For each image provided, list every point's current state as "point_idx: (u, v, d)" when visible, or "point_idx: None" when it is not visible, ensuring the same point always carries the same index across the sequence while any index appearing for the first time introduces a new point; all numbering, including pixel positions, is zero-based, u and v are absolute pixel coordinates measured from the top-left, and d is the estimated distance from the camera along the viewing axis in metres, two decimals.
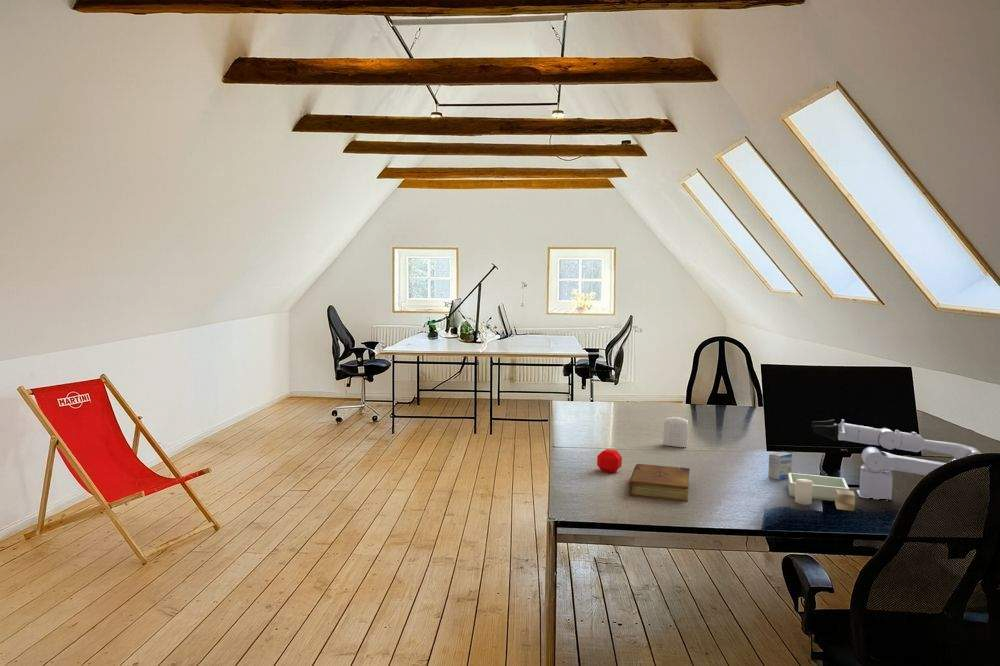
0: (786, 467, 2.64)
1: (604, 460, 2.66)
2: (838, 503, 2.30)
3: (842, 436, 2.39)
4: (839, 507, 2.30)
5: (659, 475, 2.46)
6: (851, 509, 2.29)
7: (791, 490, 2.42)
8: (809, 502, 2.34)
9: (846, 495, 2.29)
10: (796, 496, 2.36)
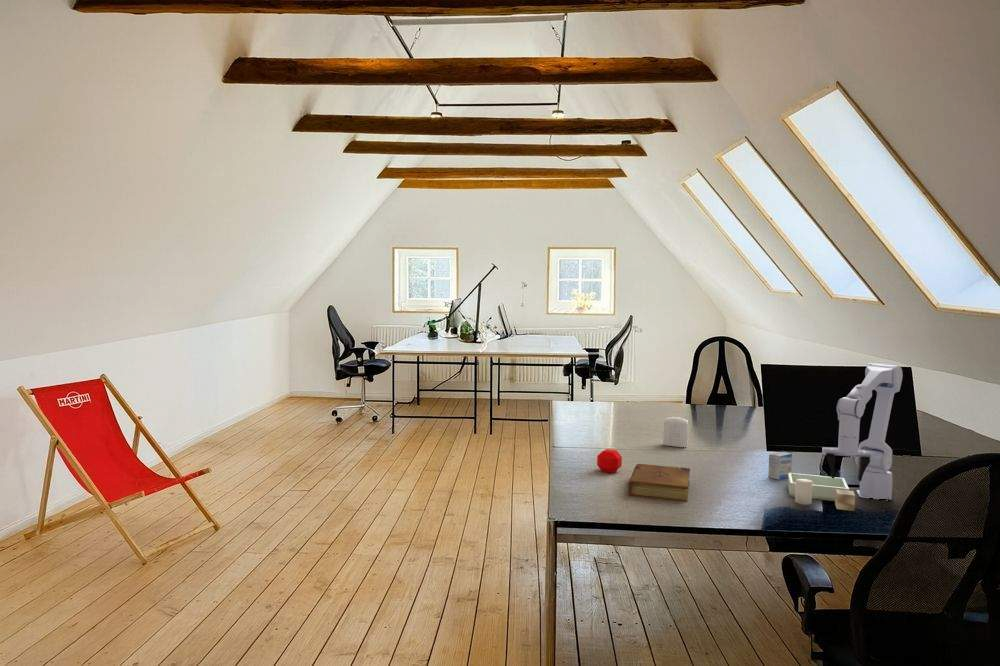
0: (786, 467, 2.64)
1: (604, 460, 2.66)
2: (838, 503, 2.30)
3: None
4: (839, 507, 2.30)
5: (659, 475, 2.46)
6: (851, 509, 2.29)
7: (791, 490, 2.42)
8: (809, 502, 2.34)
9: (846, 495, 2.29)
10: (796, 496, 2.36)
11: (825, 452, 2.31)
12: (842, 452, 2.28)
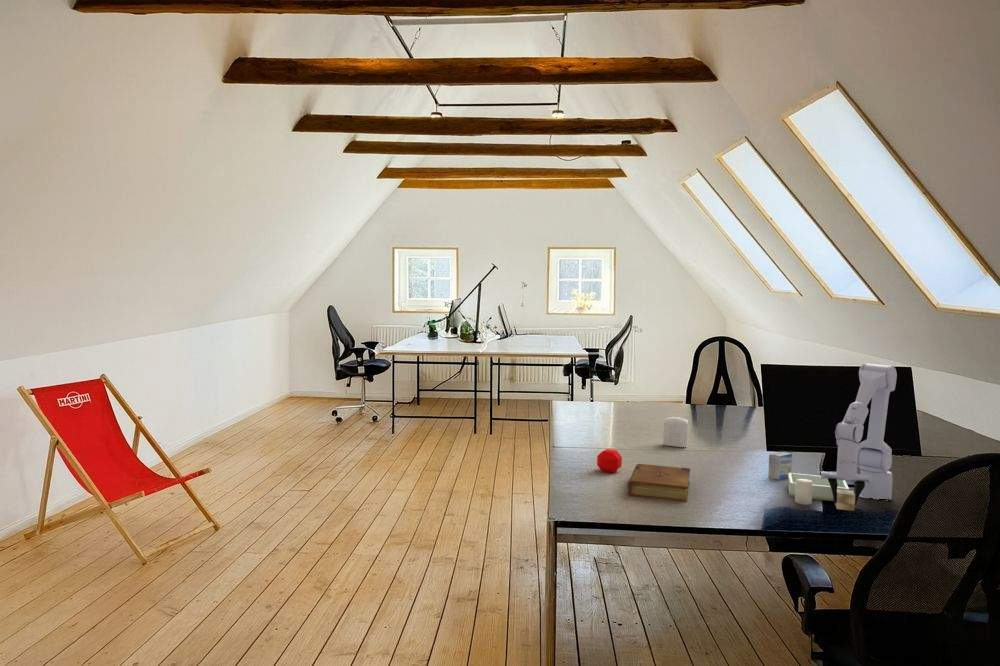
0: (786, 467, 2.64)
1: (604, 460, 2.66)
2: (838, 503, 2.30)
3: (871, 478, 2.29)
4: (839, 507, 2.30)
5: (659, 475, 2.46)
6: (851, 509, 2.29)
7: (791, 490, 2.42)
8: (809, 502, 2.34)
9: (846, 495, 2.29)
10: (796, 496, 2.36)
11: (824, 476, 2.32)
12: (841, 477, 2.29)
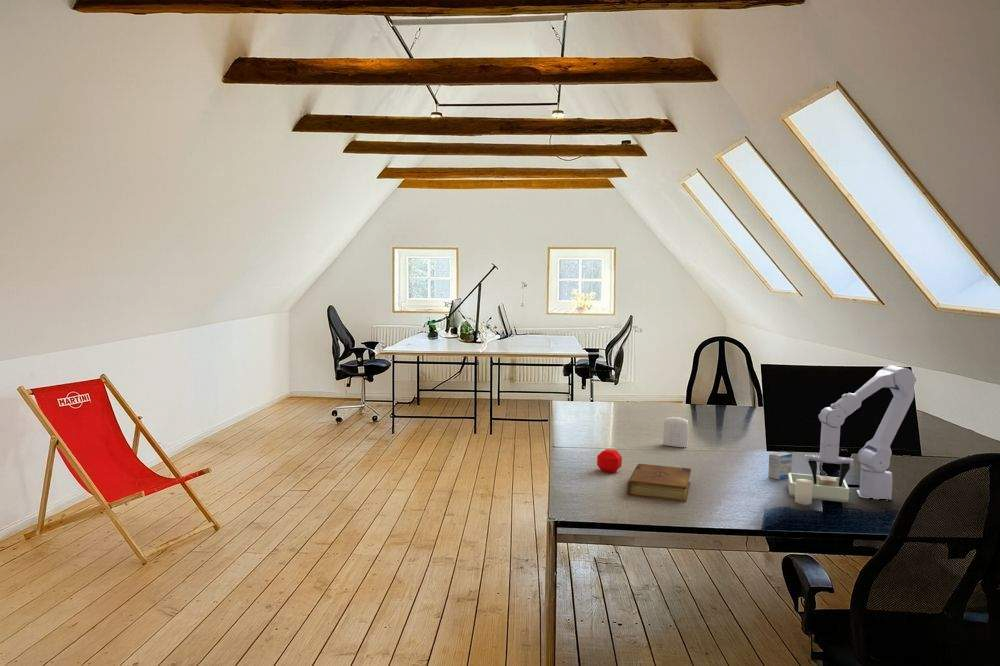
0: (786, 467, 2.64)
1: (604, 460, 2.66)
2: None
3: None
4: None
5: (659, 475, 2.46)
6: None
7: (791, 490, 2.42)
8: (809, 502, 2.34)
9: (828, 481, 2.41)
10: (796, 496, 2.36)
11: (807, 459, 2.44)
12: (823, 459, 2.41)
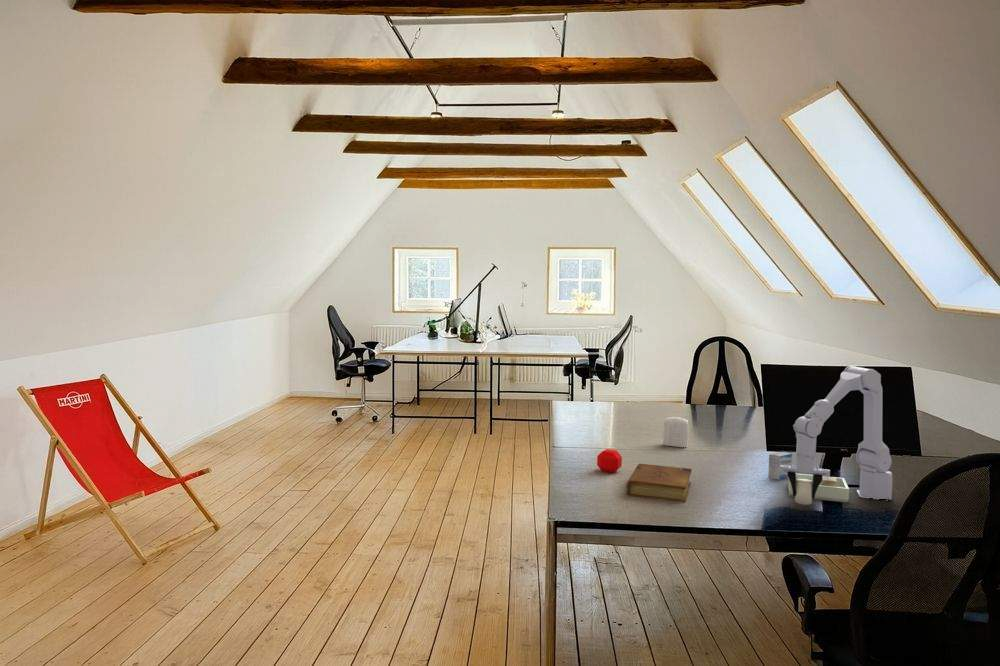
0: None
1: (604, 460, 2.66)
2: None
3: (829, 472, 2.33)
4: None
5: (659, 475, 2.46)
6: None
7: (791, 490, 2.42)
8: (809, 502, 2.34)
9: (828, 481, 2.41)
10: (796, 496, 2.36)
11: (783, 470, 2.37)
12: (799, 470, 2.34)
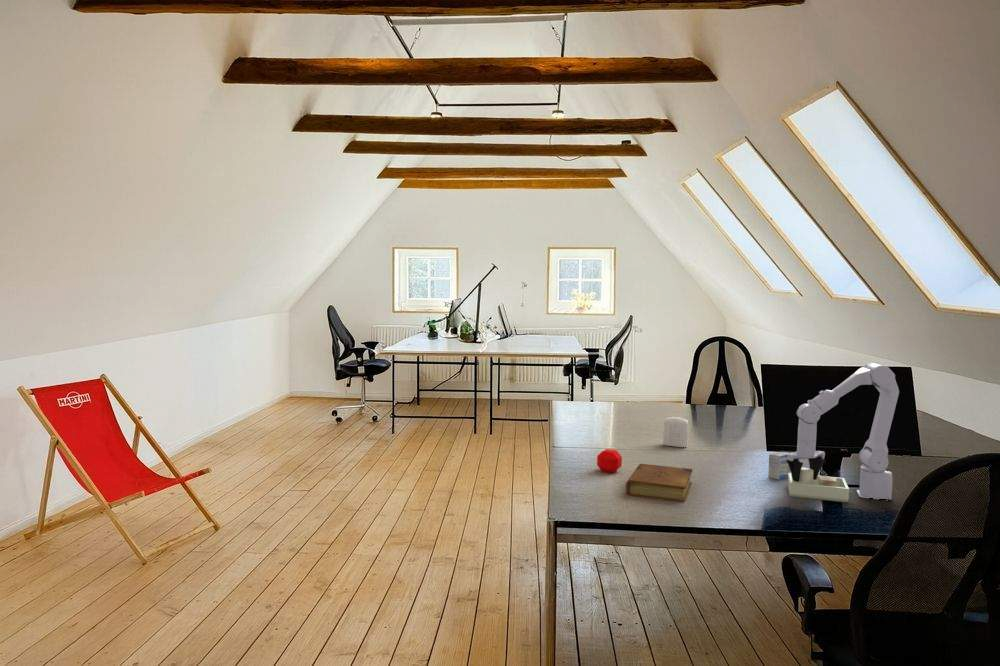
0: (786, 467, 2.64)
1: (604, 460, 2.66)
2: None
3: None
4: None
5: (659, 475, 2.46)
6: None
7: (791, 490, 2.42)
8: None
9: (828, 481, 2.41)
10: None
11: (792, 458, 2.43)
12: (807, 456, 2.43)
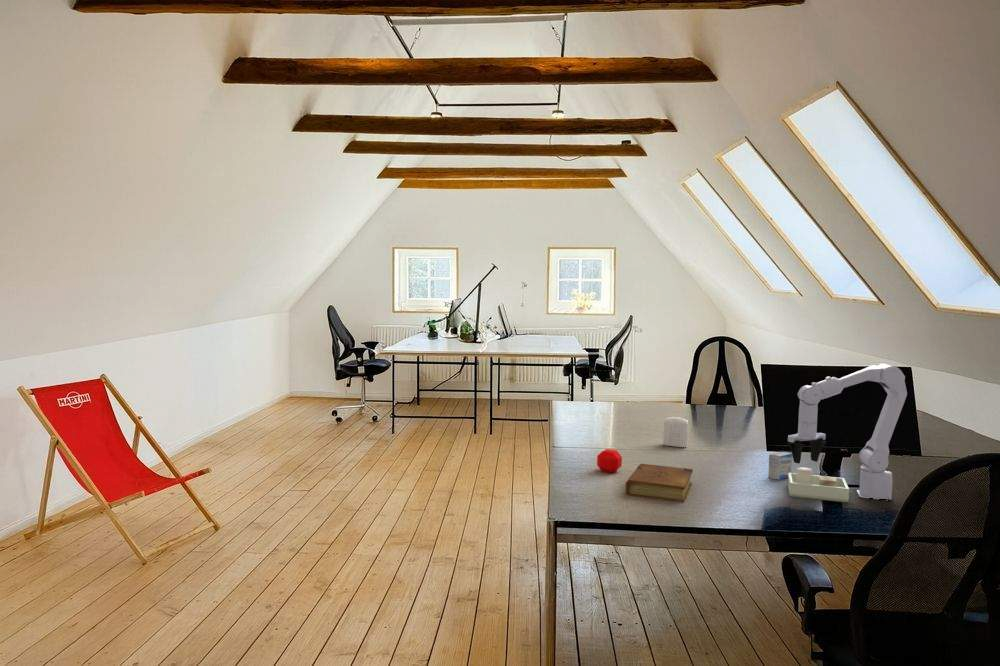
0: (786, 467, 2.64)
1: (604, 460, 2.66)
2: None
3: None
4: None
5: (659, 475, 2.46)
6: None
7: (791, 490, 2.42)
8: None
9: (828, 481, 2.41)
10: None
11: (793, 440, 2.43)
12: (808, 437, 2.43)
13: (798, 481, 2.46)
